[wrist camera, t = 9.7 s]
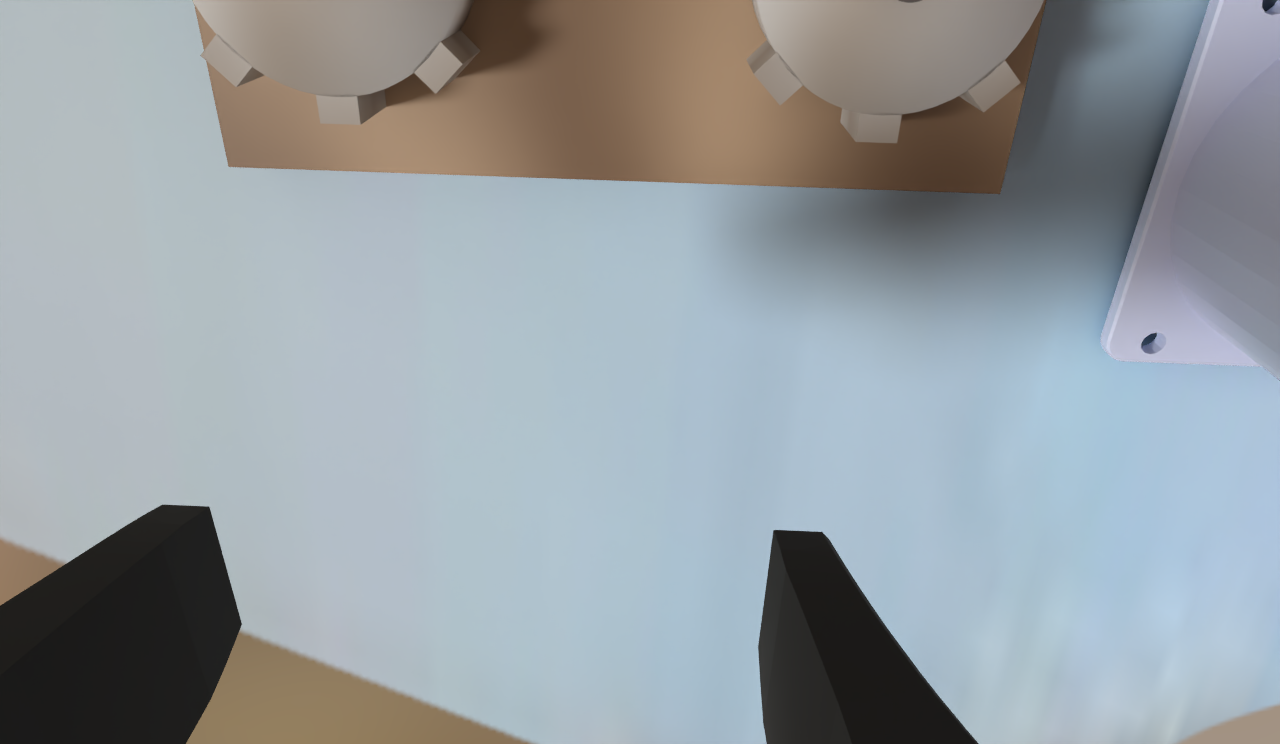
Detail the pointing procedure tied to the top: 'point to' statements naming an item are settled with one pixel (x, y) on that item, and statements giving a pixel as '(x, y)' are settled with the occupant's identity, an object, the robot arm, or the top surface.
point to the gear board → (627, 88)
